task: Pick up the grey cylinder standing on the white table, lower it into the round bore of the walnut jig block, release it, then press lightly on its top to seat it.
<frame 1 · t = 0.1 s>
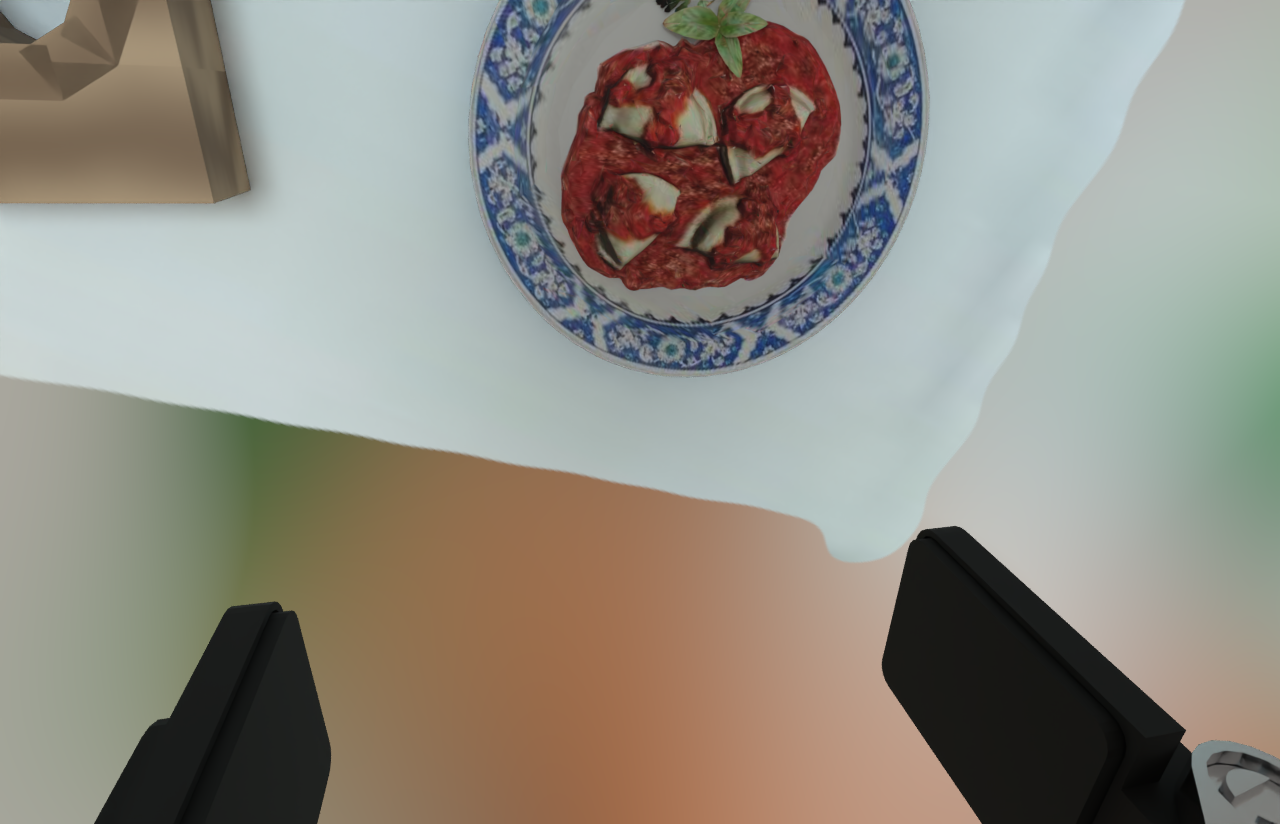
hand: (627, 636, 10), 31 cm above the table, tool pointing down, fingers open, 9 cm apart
ceramic plate: (700, 154, 38), on the table
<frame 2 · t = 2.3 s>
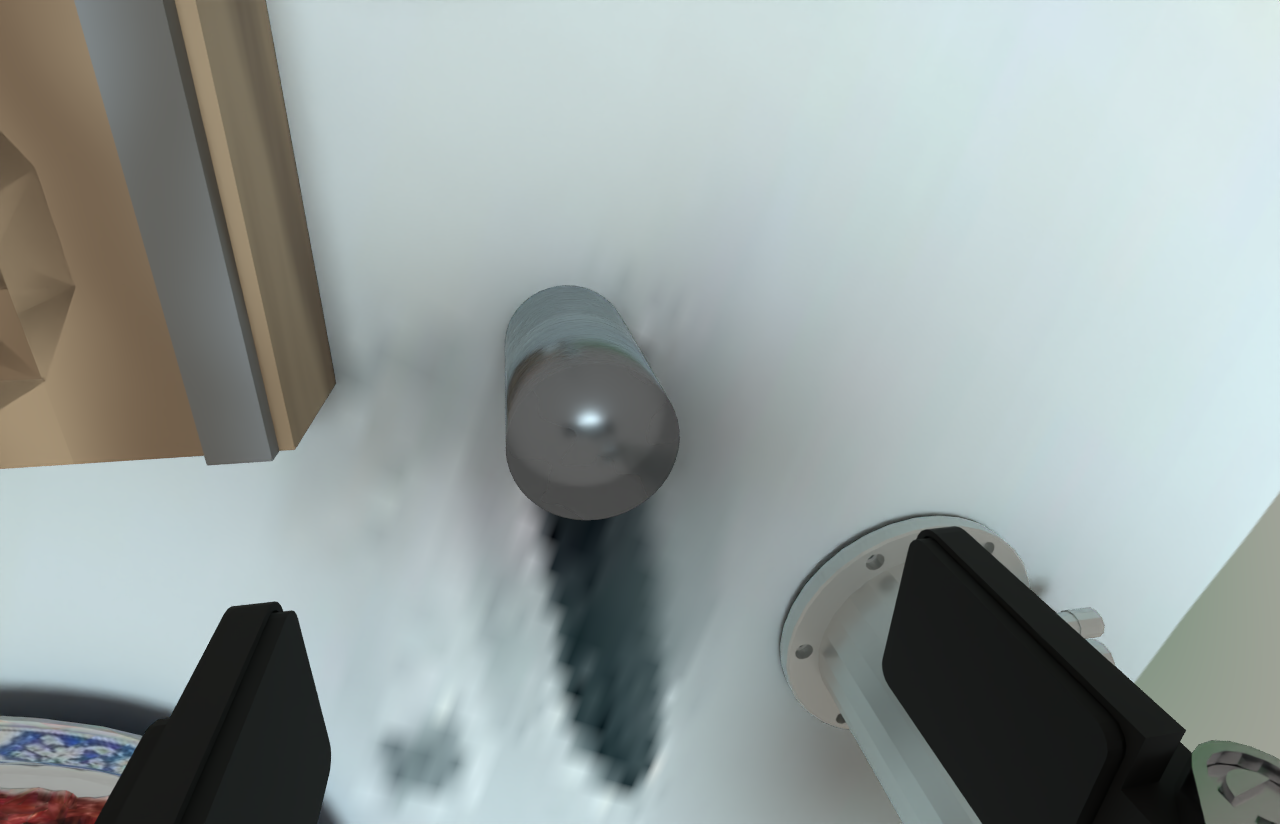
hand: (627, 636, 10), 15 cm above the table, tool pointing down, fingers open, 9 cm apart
grey cylinder: (567, 345, 24), on the table
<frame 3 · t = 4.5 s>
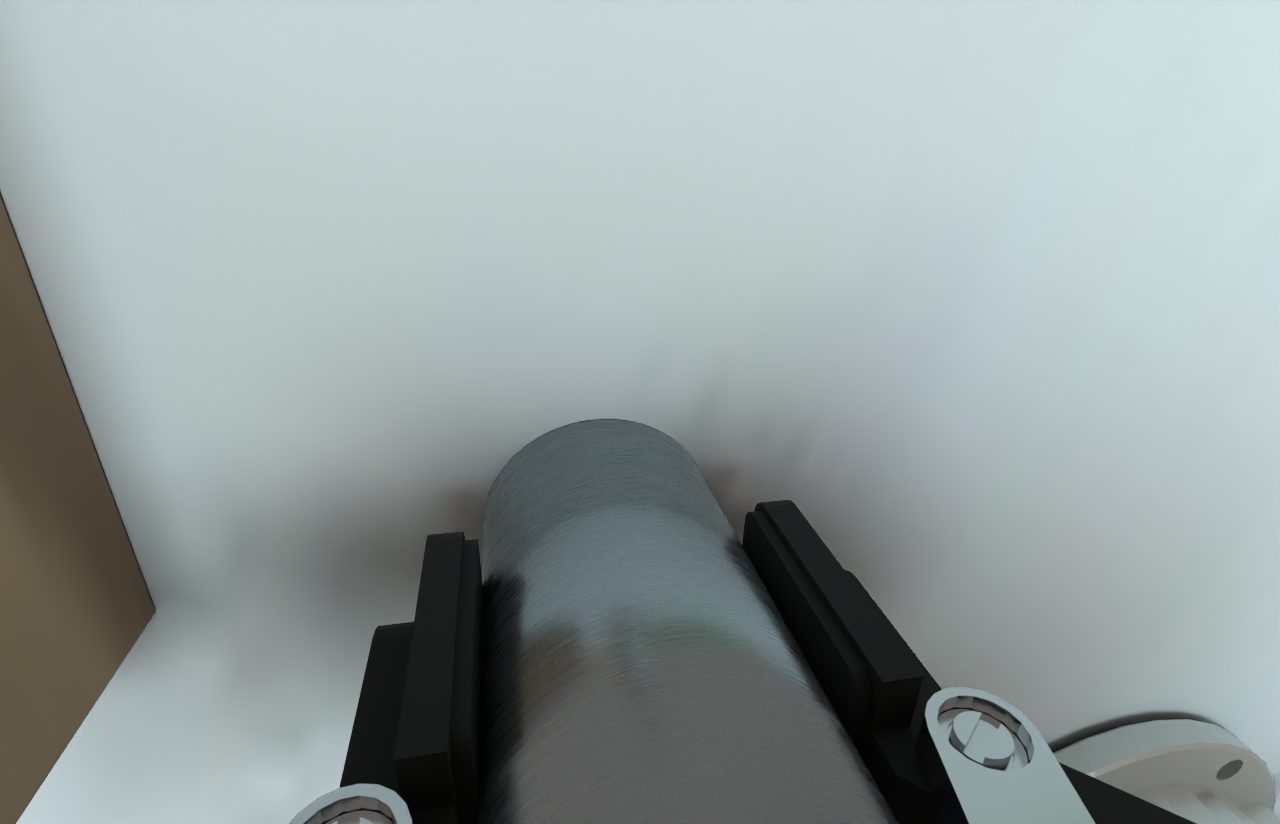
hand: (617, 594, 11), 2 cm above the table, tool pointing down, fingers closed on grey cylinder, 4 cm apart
grey cylinder: (598, 521, 13), on the table, touching gripper
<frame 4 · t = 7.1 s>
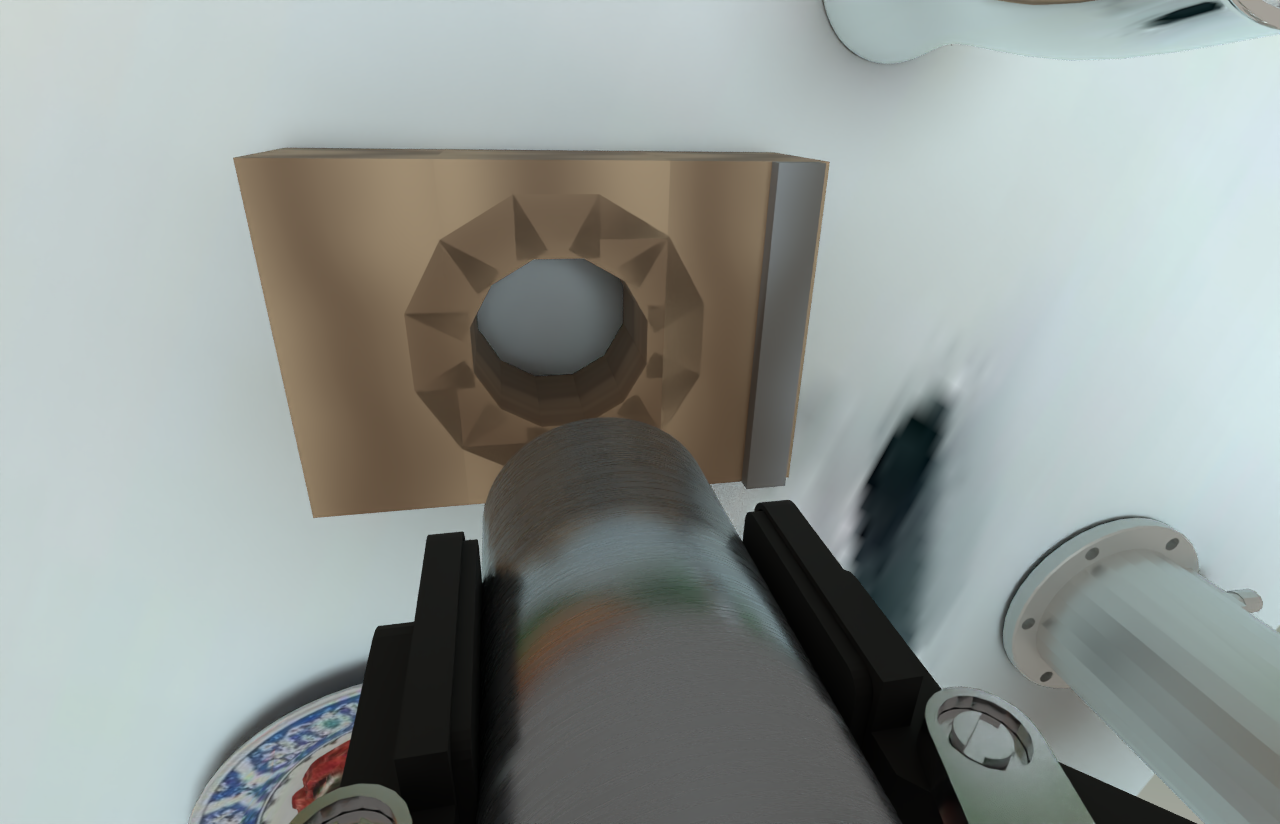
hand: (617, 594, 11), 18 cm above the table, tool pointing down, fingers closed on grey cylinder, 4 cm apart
jig: (551, 307, 27), on the table
grey cylinder: (599, 519, 13), point 16 cm above the table, touching gripper
ceramic plate: (449, 806, 39), on the table
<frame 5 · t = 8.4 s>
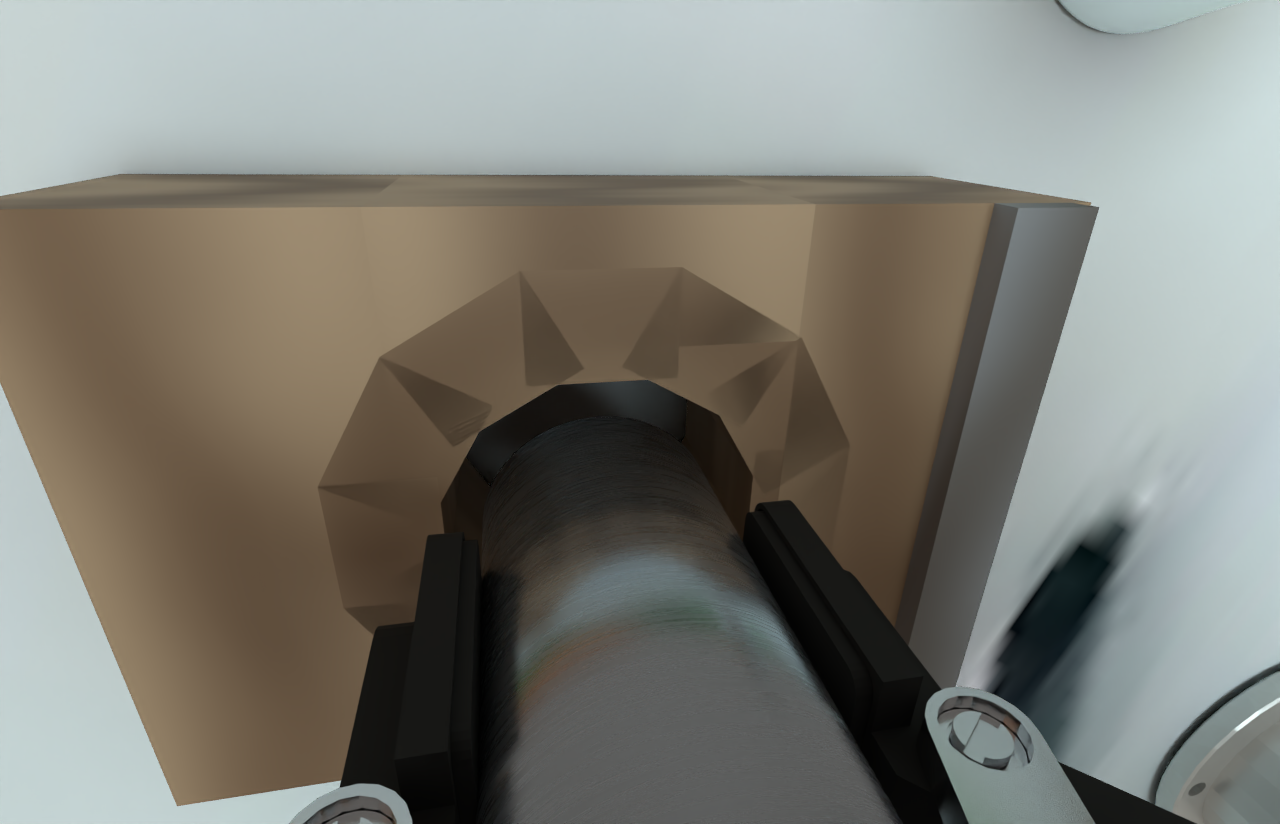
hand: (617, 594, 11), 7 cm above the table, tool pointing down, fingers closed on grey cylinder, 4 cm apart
jig: (576, 416, 17), on the table
grey cylinder: (599, 519, 13), point 5 cm above the table, touching gripper
when the fingers open (6 cm above the table, at t = 9.7 s): grey cylinder drops 3 cm, resting in jig.
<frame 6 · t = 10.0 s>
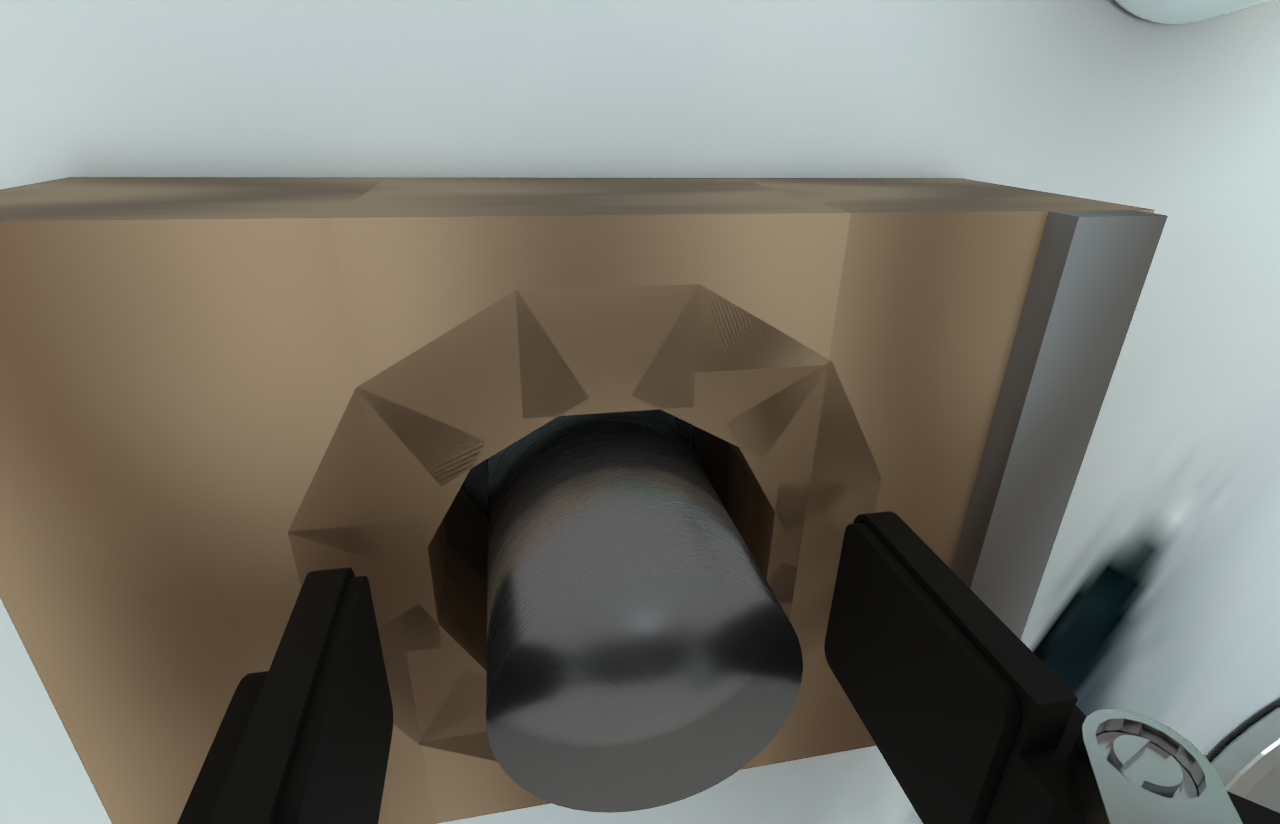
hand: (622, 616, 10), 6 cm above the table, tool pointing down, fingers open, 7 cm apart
jig: (577, 438, 16), on the table
grey cylinder: (581, 437, 16), resting in jig
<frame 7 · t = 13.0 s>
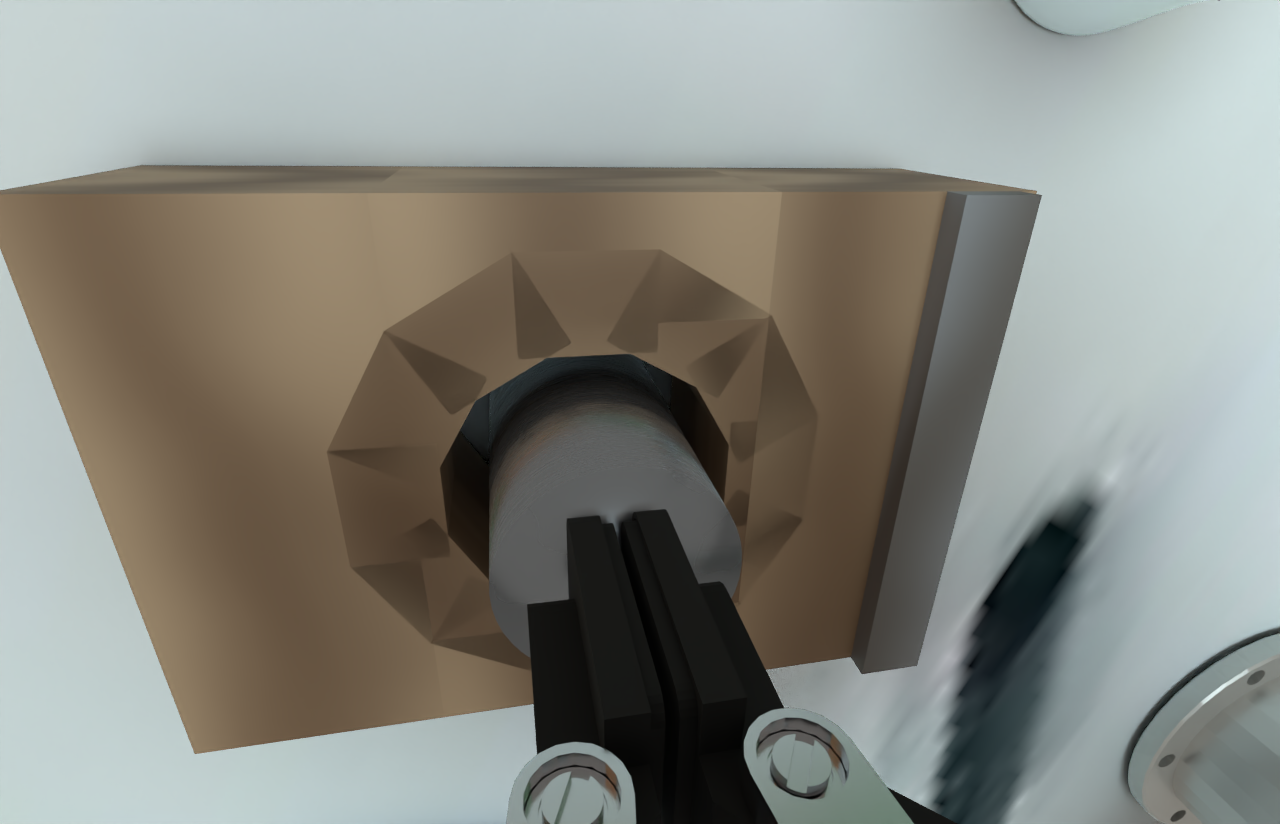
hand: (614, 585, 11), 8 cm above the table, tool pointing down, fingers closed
jig: (567, 395, 18), on the table
grey cylinder: (570, 395, 18), resting in jig
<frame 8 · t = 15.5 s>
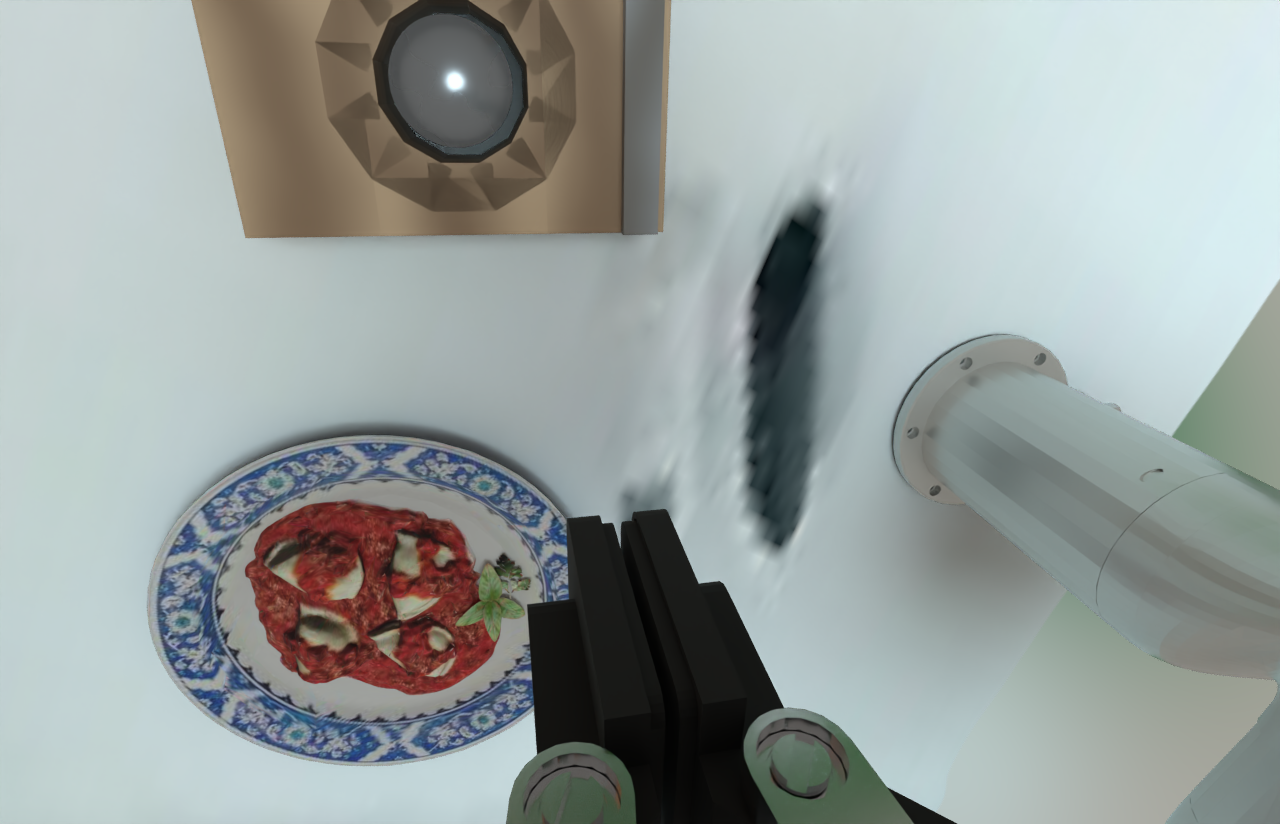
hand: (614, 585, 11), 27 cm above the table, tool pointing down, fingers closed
jig: (458, 86, 31), on the table
grey cylinder: (460, 87, 31), resting in jig
ceramic plate: (392, 596, 43), on the table
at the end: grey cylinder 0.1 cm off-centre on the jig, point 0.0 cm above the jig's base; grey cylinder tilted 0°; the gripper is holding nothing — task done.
